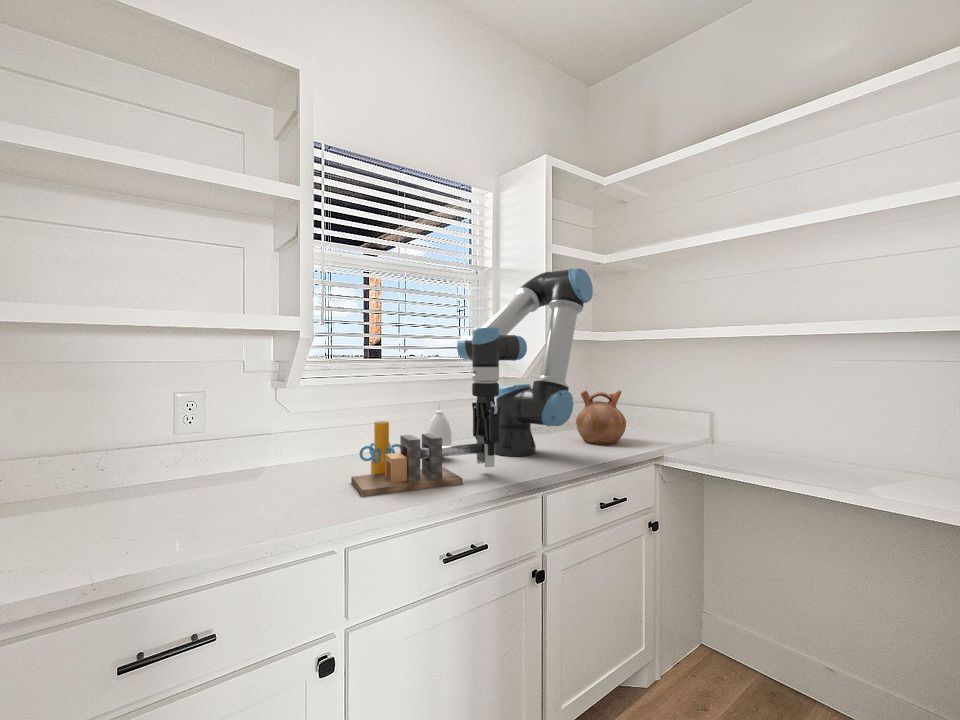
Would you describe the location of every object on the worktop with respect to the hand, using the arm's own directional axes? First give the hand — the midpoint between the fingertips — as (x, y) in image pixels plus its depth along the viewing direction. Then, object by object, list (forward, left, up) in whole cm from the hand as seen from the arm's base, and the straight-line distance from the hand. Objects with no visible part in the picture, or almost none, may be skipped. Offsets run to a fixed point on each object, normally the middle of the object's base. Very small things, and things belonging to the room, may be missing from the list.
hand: (485, 464), depth 142 cm
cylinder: (+27, -11, -3) cm, 29 cm away
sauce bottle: (+5, -25, -3) cm, 26 cm away
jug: (-61, -26, -3) cm, 67 cm away
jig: (+23, 0, -3) cm, 23 cm away
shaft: (+10, 0, +1) cm, 10 cm away
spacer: (+26, 0, -1) cm, 26 cm away
